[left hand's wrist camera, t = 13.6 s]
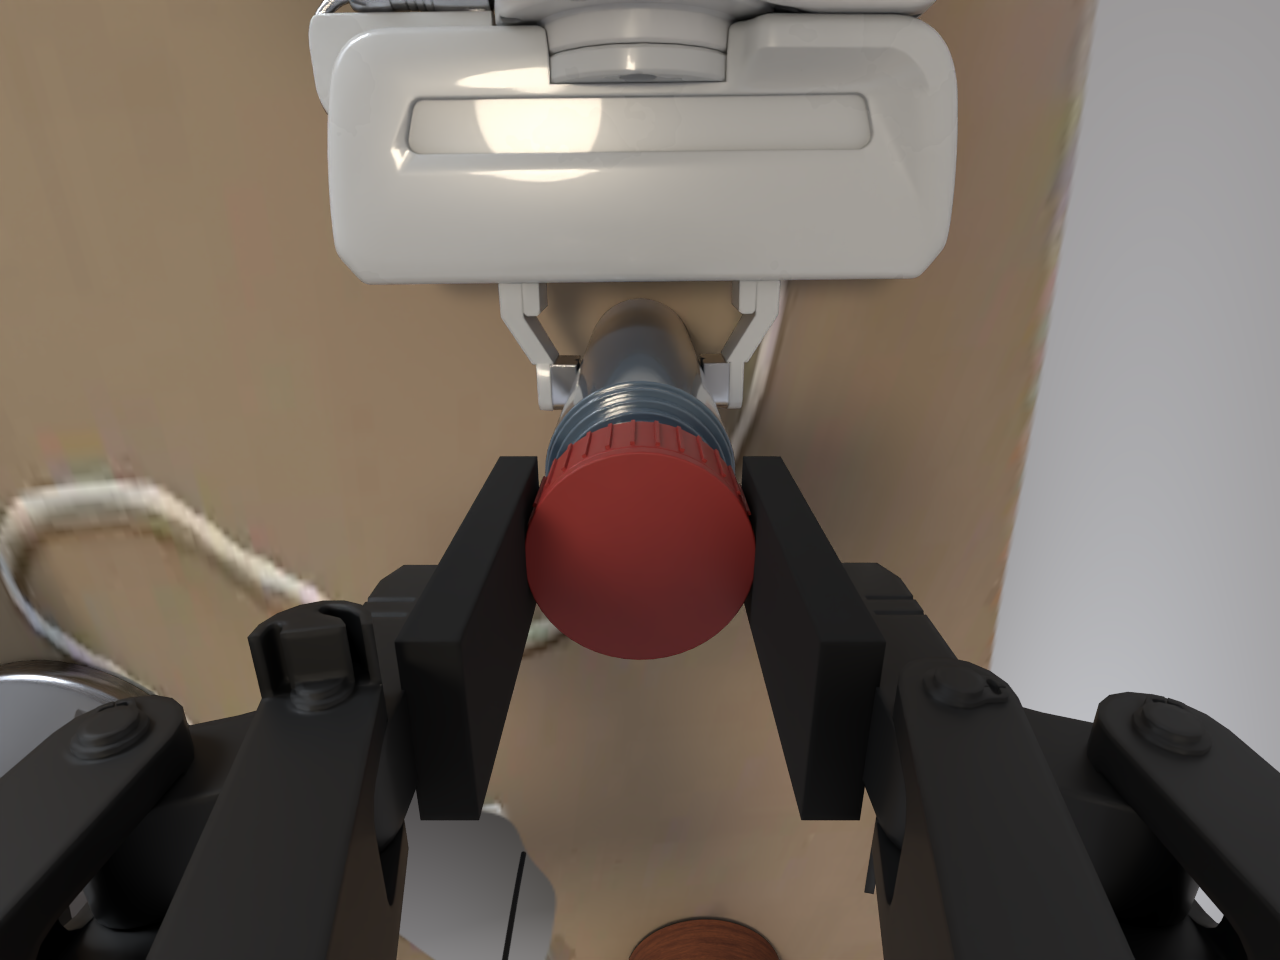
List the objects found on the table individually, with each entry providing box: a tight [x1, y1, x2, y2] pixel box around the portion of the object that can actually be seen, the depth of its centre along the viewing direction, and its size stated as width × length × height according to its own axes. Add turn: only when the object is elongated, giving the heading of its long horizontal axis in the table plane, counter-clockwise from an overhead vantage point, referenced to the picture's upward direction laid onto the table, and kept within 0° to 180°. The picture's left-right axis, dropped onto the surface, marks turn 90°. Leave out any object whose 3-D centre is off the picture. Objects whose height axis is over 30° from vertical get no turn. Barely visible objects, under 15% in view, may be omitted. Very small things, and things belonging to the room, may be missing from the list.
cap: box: [525, 420, 755, 660], centre depth 14 cm, size 4×4×2 cm
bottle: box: [545, 298, 735, 477], centre depth 23 cm, size 5×5×21 cm
